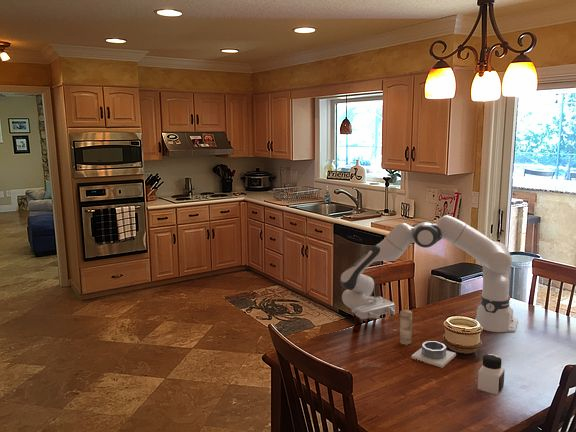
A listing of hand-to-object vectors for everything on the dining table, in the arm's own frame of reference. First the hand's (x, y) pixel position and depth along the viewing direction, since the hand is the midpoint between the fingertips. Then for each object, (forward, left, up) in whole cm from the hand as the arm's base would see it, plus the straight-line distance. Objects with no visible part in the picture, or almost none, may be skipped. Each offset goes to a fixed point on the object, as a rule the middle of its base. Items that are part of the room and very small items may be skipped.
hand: (386, 314), depth 217 cm
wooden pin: (+4, +12, -9) cm, 15 cm away
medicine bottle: (+19, +53, -9) cm, 57 cm away
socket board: (+9, +27, -9) cm, 30 cm away
